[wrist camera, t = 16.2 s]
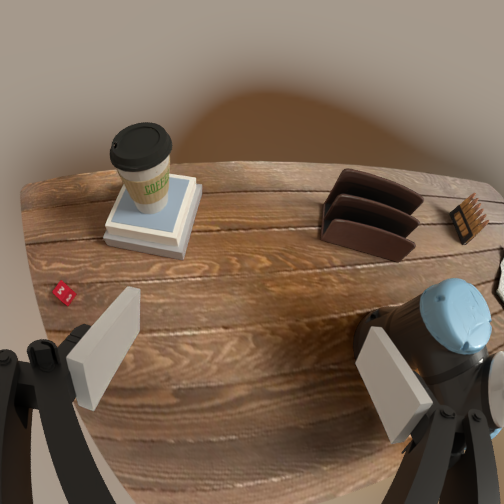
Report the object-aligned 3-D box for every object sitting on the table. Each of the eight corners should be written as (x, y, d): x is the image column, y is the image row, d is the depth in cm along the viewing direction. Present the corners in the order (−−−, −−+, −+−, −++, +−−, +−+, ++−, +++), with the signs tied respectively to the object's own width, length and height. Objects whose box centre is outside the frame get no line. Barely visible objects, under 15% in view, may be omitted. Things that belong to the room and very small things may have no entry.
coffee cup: (182, 215, 50) (176, 153, 37) (129, 228, 48) (107, 170, 34) (172, 175, 54) (166, 114, 41) (124, 187, 51) (107, 128, 38)
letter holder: (322, 204, 64) (345, 161, 52) (396, 227, 64) (427, 193, 52) (319, 241, 59) (345, 200, 47) (398, 263, 60) (435, 232, 47)
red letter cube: (68, 306, 45) (61, 301, 43) (58, 297, 46) (51, 292, 43) (76, 294, 47) (70, 288, 44) (67, 285, 47) (60, 279, 44)
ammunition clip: (449, 213, 71) (472, 189, 60) (452, 213, 71) (475, 190, 60) (462, 245, 66) (488, 223, 55) (465, 244, 66) (491, 223, 56)
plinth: (202, 193, 61) (202, 174, 55) (183, 260, 53) (180, 244, 48) (133, 183, 60) (128, 164, 54) (107, 245, 52) (98, 228, 47)
